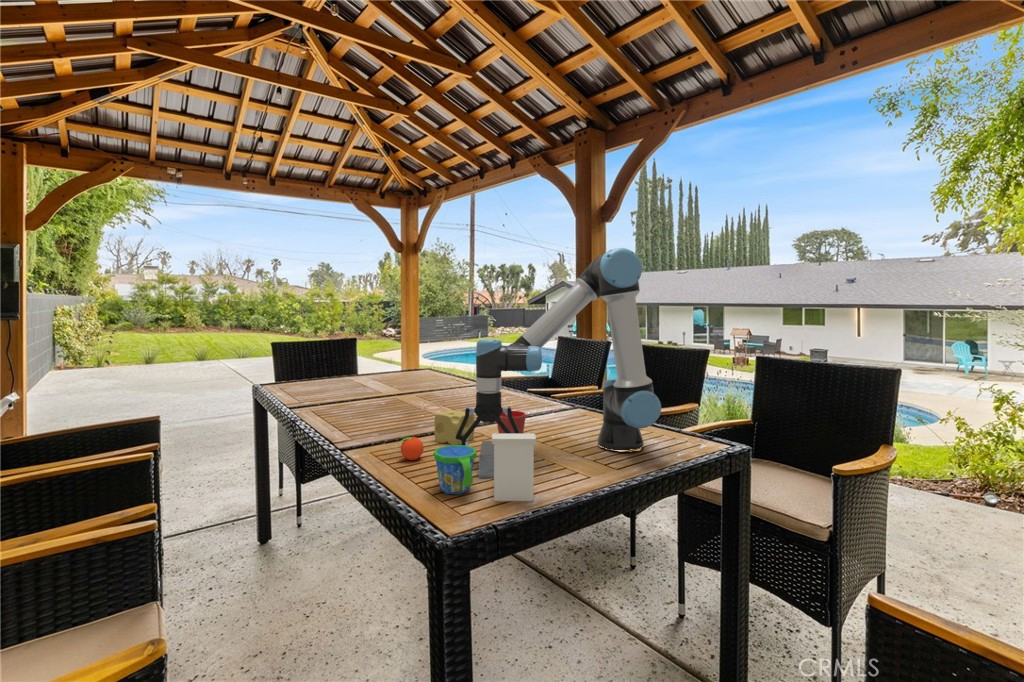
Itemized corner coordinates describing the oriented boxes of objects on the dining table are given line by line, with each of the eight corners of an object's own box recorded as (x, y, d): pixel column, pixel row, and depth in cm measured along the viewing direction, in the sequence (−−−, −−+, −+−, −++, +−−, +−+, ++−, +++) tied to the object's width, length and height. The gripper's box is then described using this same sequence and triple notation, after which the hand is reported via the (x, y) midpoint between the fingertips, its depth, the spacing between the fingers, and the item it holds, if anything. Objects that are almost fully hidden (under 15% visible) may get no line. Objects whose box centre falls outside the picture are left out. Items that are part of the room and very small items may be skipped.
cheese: (456, 446, 158) (456, 417, 157) (432, 441, 164) (432, 413, 163) (475, 439, 167) (475, 412, 166) (452, 435, 173) (452, 408, 172)
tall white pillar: (532, 483, 124) (532, 426, 123) (535, 501, 111) (535, 438, 110) (493, 483, 124) (493, 426, 123) (491, 501, 111) (492, 438, 110)
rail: (496, 459, 144) (496, 440, 143) (494, 477, 128) (495, 456, 127) (481, 459, 143) (481, 440, 143) (478, 477, 127) (478, 456, 127)
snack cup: (485, 497, 114) (485, 456, 113) (443, 504, 109) (443, 462, 109) (464, 477, 128) (464, 440, 127) (427, 483, 124) (426, 445, 123)
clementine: (398, 464, 138) (398, 441, 138) (395, 458, 145) (395, 435, 144) (425, 461, 141) (425, 438, 141) (421, 455, 148) (421, 433, 147)
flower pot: (492, 444, 161) (492, 416, 160) (499, 435, 172) (499, 409, 171) (523, 445, 159) (523, 417, 159) (527, 437, 170) (527, 410, 170)
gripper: (528, 389, 143) (528, 458, 144) (449, 388, 143) (449, 458, 144) (530, 393, 136) (529, 466, 137) (446, 393, 135) (446, 466, 137)
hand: (488, 462), depth 140 cm, fingers open, 12 cm apart
